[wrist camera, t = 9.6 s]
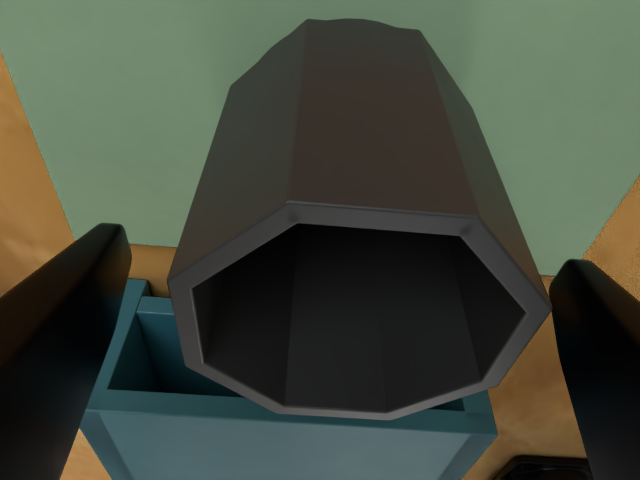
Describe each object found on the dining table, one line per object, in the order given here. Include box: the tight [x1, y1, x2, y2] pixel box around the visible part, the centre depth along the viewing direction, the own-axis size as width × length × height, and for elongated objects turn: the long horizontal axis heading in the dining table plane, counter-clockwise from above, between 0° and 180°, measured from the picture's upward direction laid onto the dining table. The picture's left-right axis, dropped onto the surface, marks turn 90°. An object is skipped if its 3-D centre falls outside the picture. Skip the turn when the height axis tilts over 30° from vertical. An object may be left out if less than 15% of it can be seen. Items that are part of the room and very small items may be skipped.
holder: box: [167, 18, 552, 420], centre depth 11 cm, size 6×6×7 cm
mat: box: [0, 0, 640, 276], centre depth 14 cm, size 18×10×1 cm, turn 85°
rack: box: [79, 279, 498, 480], centre depth 20 cm, size 14×8×6 cm, turn 85°
